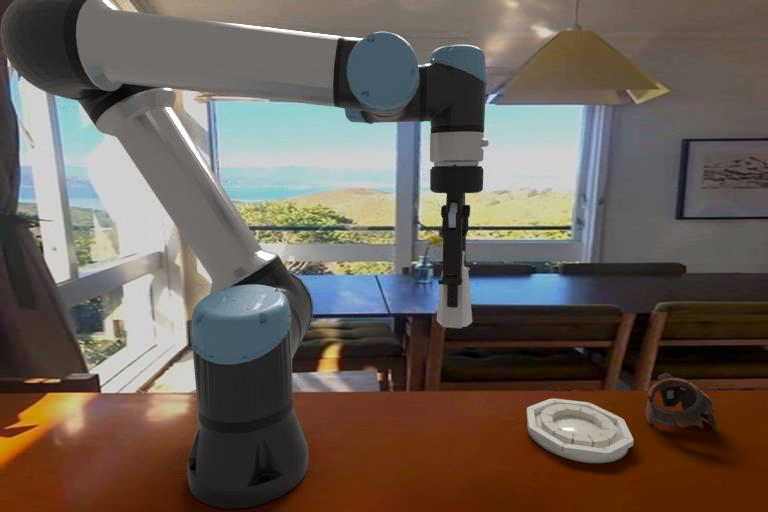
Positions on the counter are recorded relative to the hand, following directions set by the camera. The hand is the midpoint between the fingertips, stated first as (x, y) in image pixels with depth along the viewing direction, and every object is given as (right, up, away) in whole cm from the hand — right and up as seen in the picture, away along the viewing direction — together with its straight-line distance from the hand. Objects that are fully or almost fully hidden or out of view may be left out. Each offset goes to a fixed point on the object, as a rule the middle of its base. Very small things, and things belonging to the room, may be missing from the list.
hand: (454, 319), depth 71 cm
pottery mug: (+35, -16, +2) cm, 39 cm away
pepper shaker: (0, 0, 0) cm, 0 cm away
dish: (+18, -17, -1) cm, 25 cm away
